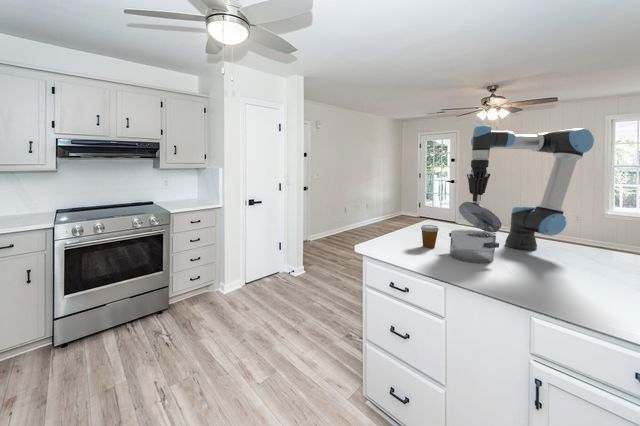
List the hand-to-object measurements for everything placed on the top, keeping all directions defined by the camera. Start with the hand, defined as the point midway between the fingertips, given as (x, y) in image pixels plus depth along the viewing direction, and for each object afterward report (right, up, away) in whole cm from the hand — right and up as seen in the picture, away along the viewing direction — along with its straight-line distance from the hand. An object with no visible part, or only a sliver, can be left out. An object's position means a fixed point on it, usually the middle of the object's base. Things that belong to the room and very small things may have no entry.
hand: (475, 207), depth 148 cm
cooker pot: (-1, -25, +4) cm, 25 cm away
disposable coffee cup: (-16, -22, +22) cm, 35 cm away
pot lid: (+2, -5, +1) cm, 6 cm away
